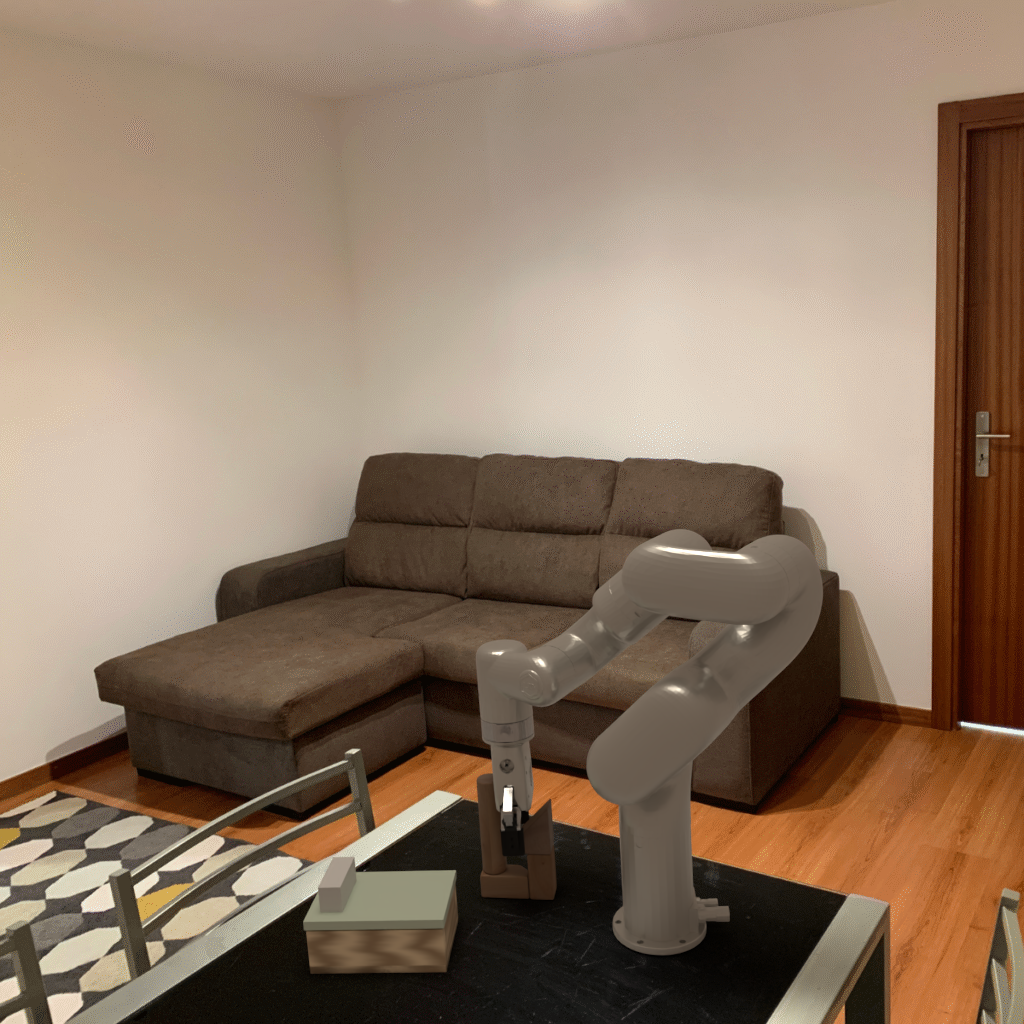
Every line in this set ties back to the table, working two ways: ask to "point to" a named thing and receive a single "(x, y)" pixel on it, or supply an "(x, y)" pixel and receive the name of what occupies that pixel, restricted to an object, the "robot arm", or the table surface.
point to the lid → (380, 899)
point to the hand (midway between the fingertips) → (516, 838)
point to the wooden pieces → (538, 847)
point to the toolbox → (383, 948)
